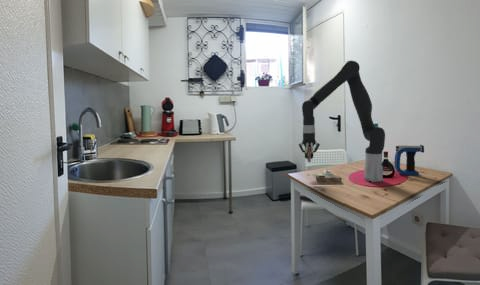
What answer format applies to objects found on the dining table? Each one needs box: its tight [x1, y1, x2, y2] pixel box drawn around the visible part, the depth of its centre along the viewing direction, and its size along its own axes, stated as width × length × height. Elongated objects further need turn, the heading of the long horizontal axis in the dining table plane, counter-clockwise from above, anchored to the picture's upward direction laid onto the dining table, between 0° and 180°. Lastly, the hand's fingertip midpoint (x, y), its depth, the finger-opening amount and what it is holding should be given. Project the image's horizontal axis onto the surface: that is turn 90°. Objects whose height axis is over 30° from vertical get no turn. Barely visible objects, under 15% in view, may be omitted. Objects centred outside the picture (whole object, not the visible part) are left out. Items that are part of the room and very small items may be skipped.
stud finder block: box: [322, 170, 334, 175], centre depth 168 cm, size 5×7×4 cm
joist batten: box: [315, 174, 343, 184], centre depth 161 cm, size 14×5×3 cm, turn 85°
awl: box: [306, 148, 312, 163], centre depth 171 cm, size 3×3×9 cm
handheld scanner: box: [394, 144, 425, 176], centre depth 175 cm, size 5×16×20 cm, turn 78°
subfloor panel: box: [311, 173, 323, 181], centre depth 169 cm, size 14×21×1 cm, turn 175°
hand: (309, 158), depth 171 cm, fingers closed on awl, 2 cm apart
